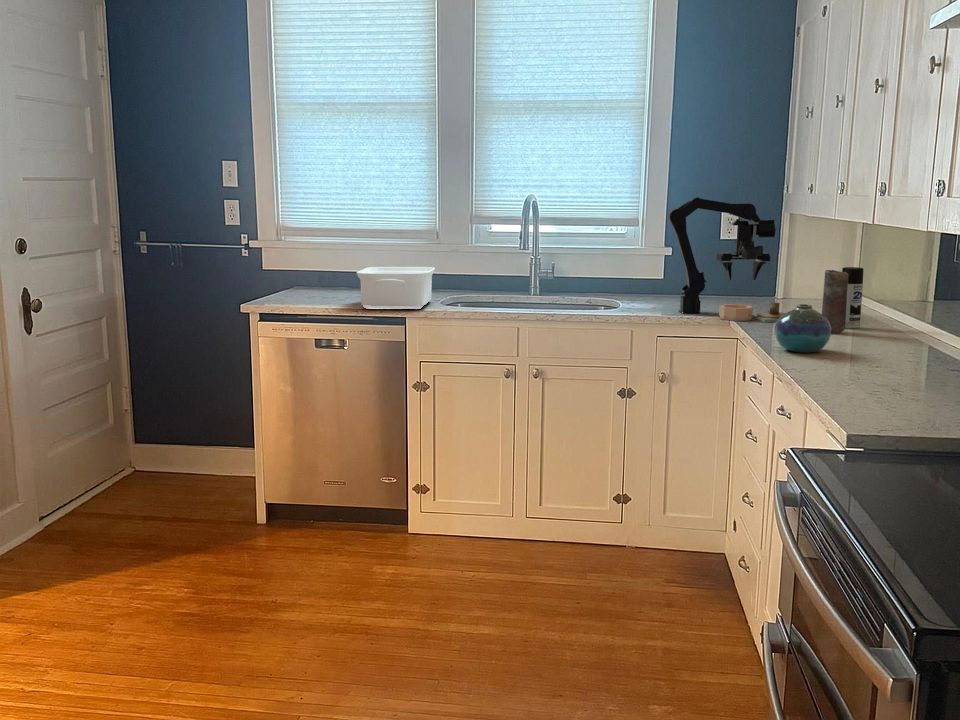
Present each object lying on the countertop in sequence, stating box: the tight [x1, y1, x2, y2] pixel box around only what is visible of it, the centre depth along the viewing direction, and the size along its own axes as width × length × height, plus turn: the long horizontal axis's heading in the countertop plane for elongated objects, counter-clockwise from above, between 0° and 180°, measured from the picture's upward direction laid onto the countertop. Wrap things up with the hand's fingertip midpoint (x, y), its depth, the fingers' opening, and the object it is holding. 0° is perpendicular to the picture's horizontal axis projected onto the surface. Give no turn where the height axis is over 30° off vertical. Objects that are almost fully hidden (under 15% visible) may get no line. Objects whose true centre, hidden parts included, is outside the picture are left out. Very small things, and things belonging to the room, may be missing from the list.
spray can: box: [841, 266, 865, 330], centre depth 294 cm, size 7×7×20 cm
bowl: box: [718, 303, 754, 322], centre depth 317 cm, size 11×11×4 cm
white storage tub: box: [356, 266, 436, 307], centre depth 355 cm, size 34×29×15 cm
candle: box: [821, 269, 849, 334], centre depth 285 cm, size 8×7×20 cm
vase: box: [774, 303, 832, 354], centre depth 255 cm, size 15×15×13 cm
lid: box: [756, 301, 787, 319], centre depth 315 cm, size 12×12×5 cm
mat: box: [751, 313, 778, 323], centre depth 316 cm, size 13×13×1 cm
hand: (741, 280), depth 329 cm, fingers open, 9 cm apart
